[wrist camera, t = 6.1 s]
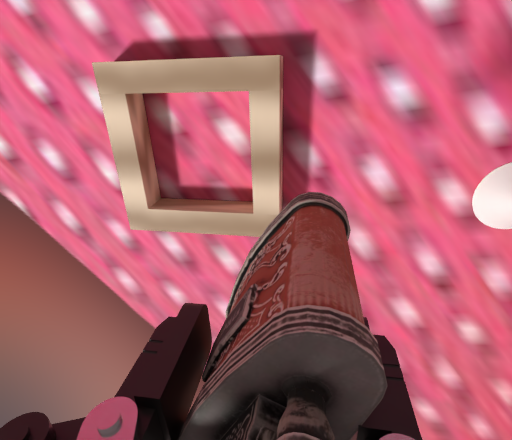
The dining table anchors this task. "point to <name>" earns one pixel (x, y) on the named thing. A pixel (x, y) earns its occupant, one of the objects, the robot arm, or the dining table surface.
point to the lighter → (292, 338)
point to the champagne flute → (495, 198)
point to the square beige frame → (140, 148)
